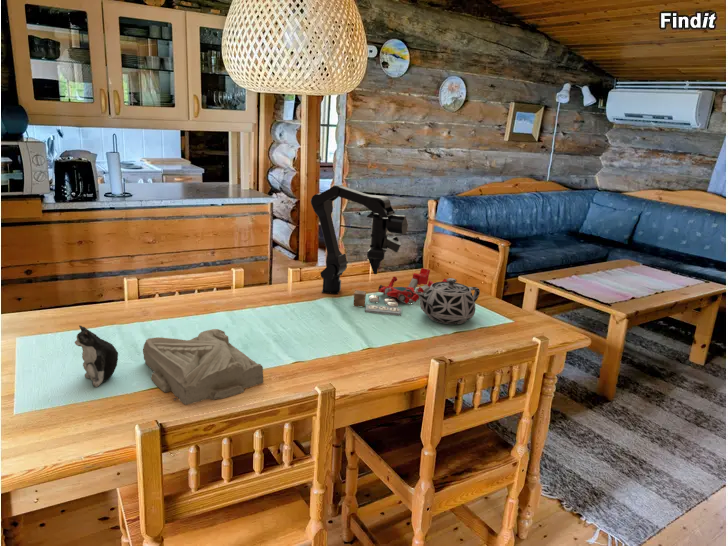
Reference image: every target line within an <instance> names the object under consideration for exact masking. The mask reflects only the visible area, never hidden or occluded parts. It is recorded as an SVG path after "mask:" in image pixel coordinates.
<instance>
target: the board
mask: <svg viewBox="0 0 728 546" xmlns="http://www.w3.org/2000/svg"><path fill="white" fill-rule="evenodd" d="M402 309H403V308H402V307H399V306H398V307H389V306H387V305H379V304H369V303H367V304H366V305H365V310H364V312H365V313H370V312H372V314H380V313H381V314H382V315H389V314H390V315H391V316H392V315H393V316H399V315H400V317H402ZM381 314H380V315H381ZM390 315H389V316H390Z"/></svg>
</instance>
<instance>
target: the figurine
mask: <svg viewBox="0 0 728 546" xmlns="http://www.w3.org/2000/svg"><path fill="white" fill-rule="evenodd" d="M78 326H79V329H80V332H78V333H77V334H76V340H75V341H74V344H75V345H76V346H78V347H81V349H82V353H81V358H82V360H83V362H82V367H83V369H84V370H85V373H84V377H85V378H86V379H90V380H91V381H92V386H93V387H94V388H97V387H99V386H101V384H103V383H104V382H106V381H108V380H109V379H110V378H111V377H112V376H113V374H114V373H115V370H116V368H117V366H118V360H119V352H118V351H117V348H116V347H115V346H114V345H113V343H110V342H108V341H107V340H104V339H102V338H100V336H98V335H97V334H96V333H94V332H92V331H91V330H89V329H88V328H86V327H85V326H82V325H78Z"/></svg>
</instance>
